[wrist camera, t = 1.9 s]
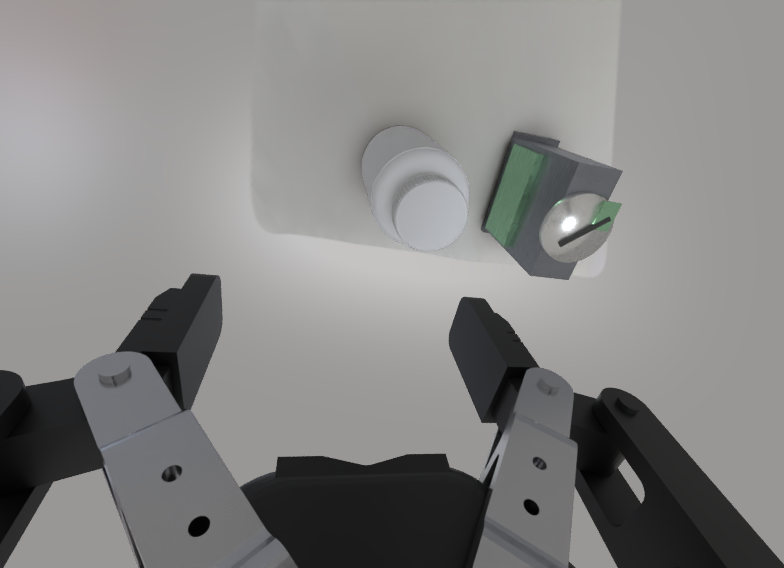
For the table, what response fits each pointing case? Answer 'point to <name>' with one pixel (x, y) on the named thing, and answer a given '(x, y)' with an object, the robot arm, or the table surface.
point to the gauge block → (550, 206)
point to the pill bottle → (415, 189)
